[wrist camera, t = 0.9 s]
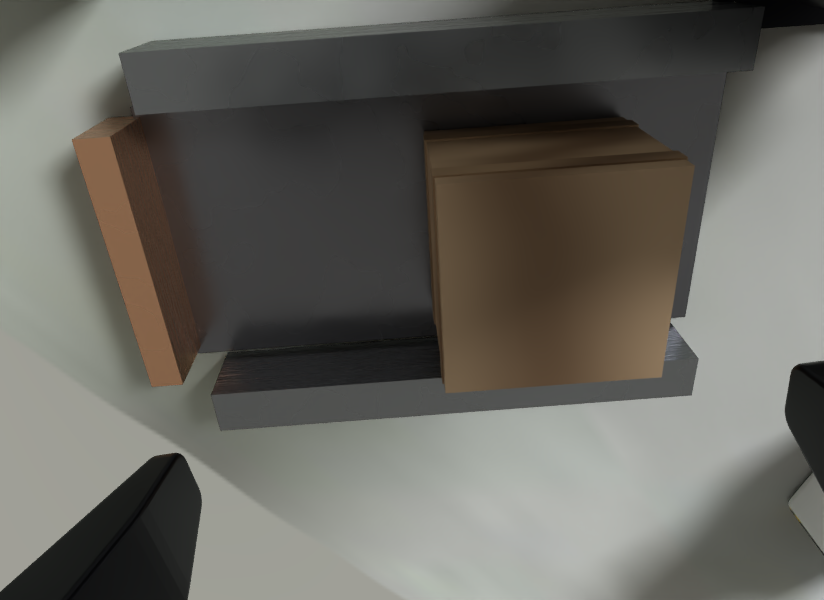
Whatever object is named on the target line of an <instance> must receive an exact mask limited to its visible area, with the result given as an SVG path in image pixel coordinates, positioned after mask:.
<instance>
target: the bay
mask: <svg viewBox="0 0 824 600" xmlns="http://www.w3.org/2000/svg"><path fill="white" fill-rule="evenodd" d="M764 10H765V7H764V6H757V5H750V4H742V3H735V2H713V1H701V2H687V3H673V4H659V5H645V6H632V7H618V8H604V9H590V10H576V11H562V12H548V13H535V14H521V15H507V16H493V17H479V18H465V19H451V20H438V21H424V22H410V23H396V24H382V25H368V26H354V27H341V28H327V29H313V30H299V31H285V32H271V33H258V34H244V35H230V36H216V37H202V38H188V39H174V40H161V41H150V42H148V43H145V44H142V45H140V46H137V47H134V48H132V49H129V50H126V51H123V52H121V53H119V57H120V60H121V64H122V68H123V72H124V75H125V79H126V83H127V86H128V90H129V94H130V97H131V101H132V105H133V106H131V107H130V108H131V112H132V116H128V117H115V118H107V119H106V120H104V121H102V122H101V123H99V124H97V125H96V126H94V127H92V128H91V129H89V130H87V131H85V132H84V133H82V134H80V135H79V136H77V137H75V138H74V139H72V142H73V145H74V148H75V151H76V154H77V157H78V160H79V164H80V167H81V170H82V173H83V176H84V179H85V182H86V185H87V188H88V191H89V194H90V197H91V201H92V204H93V207H94V210H95V213H96V216H97V219H98V222H99V225H100V228H101V231H102V234H103V238H104V241H105V244H106V247H107V250H108V253H109V256H110V259H111V262H112V265H113V268H114V271H115V275H116V278H117V281H118V284H119V287H120V290H121V293H122V296H123V299H124V302H125V305H126V308H127V312H128V315H129V318H130V321H131V324H132V327H133V330H134V333H135V336H136V339H137V342H138V345H139V349H140V352H141V355H142V358H143V361H144V364H145V367H146V370H147V373H148V376H149V379H150V382H151V386H152V387H156V386H169V385H183V383H184V381H185V379H186V377H187V375H188V372H189V370H190V368H191V366H192V364H193V362H194V360H195V357H196V355H197V353H207V352H220V351H233V350H247V349H260V348H274V347H287V346H301V345H314V344H327V343H341V342H354V341H368V340H381V339H395V338H408V337H421V336H435V335H437V329H436V324H434V319H433V307H432V288H431V270H430V251H429V232H428V214H427V195H426V177H425V158H424V140H423V135H424V131H437V130H451V129H464V128H478V127H492V126H505V125H519V124H533V123H547V122H560V121H574V120H588V119H601V118H615V117H624V118H625V119H627V120H633V121H634V122H636V123H637V124H639V127H638V128H640V129H641V130H643V131H644V132H646V133H647V134H649V135H650V136H652V137H653V138H655V139H656V140H658V141H659V142H661V143H662V144H664V145H665V146H667V147H668V148H670V149H671V150H672V151H677V150H678V151H679V152H681V153H683V154H684V155H686V156H687V157H688V161H689V162H690V163H692V164H693V165H695V168H694V175H693V181H692V187H691V194H690V200H689V206H688V213H687V219H686V225H685V232H684V238H683V244H682V251H681V257H680V263H679V270H678V276H677V282H676V289H675V295H674V301H673V308H672V314H671V318H677V317H685V314H686V309H687V303H688V297H689V291H690V285H691V279H692V273H693V267H694V262H695V256H696V250H697V244H698V238H699V232H700V226H701V220H702V215H703V209H704V203H705V197H706V191H707V185H708V179H709V173H710V168H711V162H712V156H713V150H714V144H715V138H716V132H717V126H718V121H719V115H720V109H721V103H722V97H723V91H724V85H725V79H726V74H727V72H736V71H750V70H753V68H754V63H755V57H756V52H757V47H758V41H759V36H760V31H761V26H762V20H763V15H764ZM697 364H698V357H697V356H696V355H695V353H694V352H693V351H692V350H691V348H690V347H689V346H688V345H687V343H686V342H685V341H684V339H683V338H682V337H681V336H680V334H679V333H678V332H677V330H676V329H675V328H674V327H673V325H672V324H671V323H670V327H669V333H668V339H667V346H666V352H665V358H664V365H663V371H662V377H658V378H644V379H631V380H617V381H604V382H591V383H577V384H564V385H551V386H537V387H524V388H511V389H497V390H484V391H471V392H457V393H446V392H445V385H444V384H442V377H441V367H440V350H439V343H438V337H431V338H418V339H404V340H391V341H378V342H364V343H351V344H337V345H324V346H310V347H297V348H284V349H270V350H257V351H243V352H230V353H227V355H226V358H225V361H224V363H223V366H222V368H221V371H220V373H219V376H218V378H217V381H216V384H215V386H214V389H213V391H212V394H211V397H212V401H213V404H214V408H215V412H216V415H217V419H218V423H219V427H220V430H221V431H222V430H235V429H248V428H262V427H275V426H288V425H302V424H315V423H328V422H342V421H355V420H368V419H382V418H395V417H408V416H422V415H435V414H448V413H462V412H475V411H488V410H502V409H515V408H528V407H542V406H555V405H568V404H582V403H595V402H608V401H622V400H635V399H648V398H662V397H675V396H688V395H692V390H693V385H694V380H695V374H696V369H697Z"/></svg>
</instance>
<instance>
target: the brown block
mask: <svg viewBox="0 0 824 600" xmlns="http://www.w3.org/2000/svg"><path fill="white" fill-rule="evenodd" d="M638 127H639V124H637V123H636V122H634V121H633V120H627V119H625V118H624V117H615V118H601V119H588V120H574V121H560V122H547V123H533V124H519V125H505V126H492V127H478V128H464V129H451V130H437V131H424V135H423V140H424V158H425V177H426V195H427V214H428V232H429V251H430V270H431V288H432V307H433V319H434V324H436V329H437V336H438V343H439V350H440V367H441V377H442V384H444V385H445V392H446V393H457V392H471V391H484V390H497V389H511V388H524V387H537V386H551V385H564V384H577V383H591V382H604V381H617V380H631V379H644V378H658V377H662V371H663V365H664V358H665V352H666V346H667V339H668V333H669V327H670V320H671V314H672V308H673V301H674V295H675V289H676V282H677V276H678V270H679V263H680V257H681V251H682V244H683V238H684V232H685V225H686V219H687V213H688V206H689V200H690V194H691V187H692V181H693V175H694V168H695V165H693V164H692V163H690V162H689V161H688V157H687V156H686V155H684V154H683V153H681V152H679V151H678V150H677V151H672V150H671V149H670V148H668V147H667V146H665V145H664V144H662V143H661V142H659V141H658V140H656V139H655V138H653V137H652V136H650V135H649V134H647V133H646V132H644V131H643V130H641V129H640V128H638Z"/></svg>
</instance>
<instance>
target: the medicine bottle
mask: <svg viewBox="0 0 824 600" xmlns="http://www.w3.org/2000/svg"><path fill="white" fill-rule="evenodd" d="M788 504H789V507H790V510H791V511H792V513H793V514H794V515H795V517H796V518H797V519H798V521H799V522H800V524H801V525H802V526H803V528H804V529H805V530H806V532H807V533H808V534H809V536H810V537H811V538H812V540H813V541H814V543H815V544H816V545H817V547H818V548H819V549H820V551H821V552H822V553H823V555H824V493H823V491H822V489H821V487H820V485H819V483H818V481H817V479H816V477H815V476H814V474H813V473H812V474H811V475H810V476H809V477H808V479H807V480H806V481H805V482H804V483H803V484H802V486H801V487H800V488H799V489H798V490H797V492H796V493H795V494H794V495H793V496H792V498H791V499H790V501H789V503H788Z"/></svg>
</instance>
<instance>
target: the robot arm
mask: <svg viewBox="0 0 824 600" xmlns="http://www.w3.org/2000/svg"><path fill="white" fill-rule="evenodd" d="M713 2H736V3H742V4H750V5H757V6H764V7H765V10H764V15H763V20H762V26H761V28H775V27H789V26H802V25H816V24H824V0H713ZM785 416H786V421H787V424H788V426H789V428H790V430H791V432H792V434H793V436H794V438H795V440H796V441H797V443H798V445H799V447H800V449H801V451H802V453H803V455H804V457H805V458H806V460H807V462H808V464H809V466H810V468H811V470H812V472H813V474H814V476H815V477H816V479H817V481H818V483H819V485H820V487H821V489H822V491H823V493H824V361H816V362H809V363H802V364H798V365H796V366H795V367H794V368H793V369H792V371H791V375H790V381H789V387H788V393H787V399H786V405H785ZM201 506H202V499H201V493H200V490H199V487H198V485H197V483H196V481H195V479H194V477H193V474H192V472H191V471H190V468H189V466H188V463H187V461H186V459H185V458H184V456H183V455H181V454H179V453H171V454H164V455H159V456H154V457H152V458H151V459H149V460H148V461H147V462H146V463H145V464H144V465H143V466H141V467H140V468H139V469H138V470H137V471H136V472H135V473H134V474H132V475H131V476H130V477H129V478H128V479H127V480H126V481H125V482H123V483H122V484H121V485H120V486H119V487H118V488H117V489H116V490H114V491H113V492H112V493H111V494H110V495H109V496H108V497H106V498H105V499H104V500H103V501H102V502H101V503H100V504H99V505H97V506H96V507H95V508H94V509H93V510H92V511H91V512H90V513H88V514H87V515H86V516H85V517H84V518H83V519H82V520H81V521H79V522H78V523H77V524H76V525H75V526H74V527H73V528H72V529H70V530H69V531H68V532H67V533H66V534H65V535H64V536H63V537H61V538H60V539H59V540H58V541H57V542H56V543H55V544H54V545H53V546H51V547H50V548H49V549H48V550H47V551H46V552H45V553H44V554H42V555H41V556H40V557H39V558H38V559H37V560H36V561H35V562H33V563H32V564H31V565H30V566H29V567H28V568H27V569H25V570H24V571H23V572H22V573H21V574H20V575H19V576H18V577H16V578H15V579H14V580H13V581H12V582H11V583H10V584H9V585H7V586H6V587H5V588H4V589H3V590H2V591H1V592H0V600H188V594H189V588H190V582H191V575H192V568H193V562H194V555H195V548H196V541H197V534H198V527H199V521H200V513H201Z"/></svg>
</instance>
